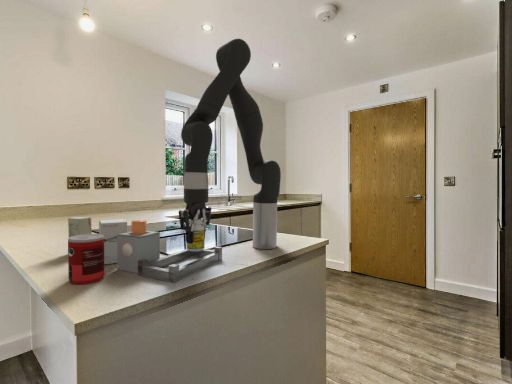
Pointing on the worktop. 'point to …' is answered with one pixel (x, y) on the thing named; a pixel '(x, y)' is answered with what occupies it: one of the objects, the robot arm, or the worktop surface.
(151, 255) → the cabinet
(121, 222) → the supplement box
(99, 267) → the canned food
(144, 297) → the worktop surface
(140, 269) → the grey rectangular tray
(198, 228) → the supplement bottle
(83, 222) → the skincare box
